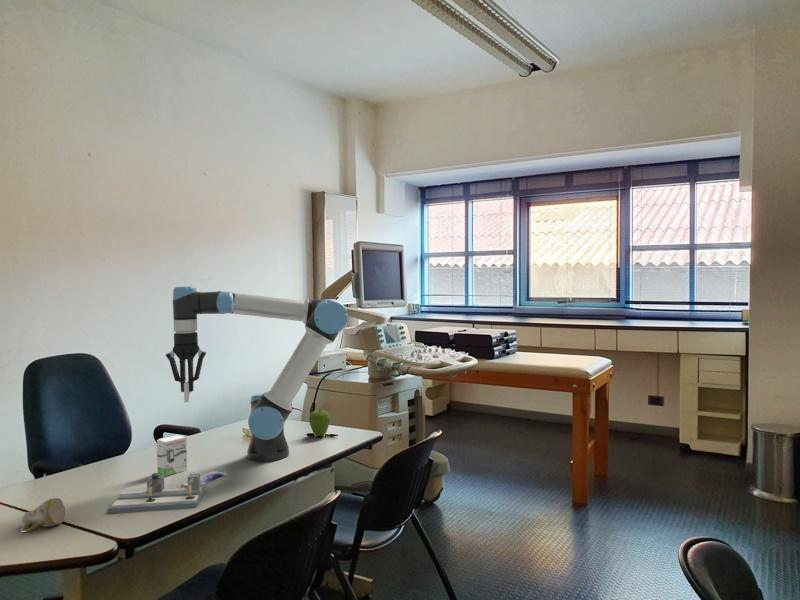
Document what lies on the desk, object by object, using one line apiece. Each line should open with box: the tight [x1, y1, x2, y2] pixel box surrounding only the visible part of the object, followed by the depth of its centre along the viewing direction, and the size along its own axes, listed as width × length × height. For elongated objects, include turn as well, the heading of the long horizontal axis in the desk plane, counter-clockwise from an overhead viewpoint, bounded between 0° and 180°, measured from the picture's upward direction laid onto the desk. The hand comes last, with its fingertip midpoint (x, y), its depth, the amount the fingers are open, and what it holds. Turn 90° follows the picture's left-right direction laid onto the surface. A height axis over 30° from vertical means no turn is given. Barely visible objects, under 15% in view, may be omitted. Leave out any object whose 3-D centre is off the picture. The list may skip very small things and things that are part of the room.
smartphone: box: [180, 470, 230, 488], centre depth 188 cm, size 7×1×15 cm
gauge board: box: [107, 473, 207, 514], centre depth 170 cm, size 24×13×6 cm, turn 98°
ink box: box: [156, 434, 188, 477], centre depth 197 cm, size 9×5×12 cm, turn 141°
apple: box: [308, 409, 331, 437], centre depth 241 cm, size 9×8×12 cm
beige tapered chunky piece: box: [19, 497, 66, 532], centre depth 154 cm, size 8×10×10 cm
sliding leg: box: [146, 472, 165, 499], centre depth 170 cm, size 4×8×5 cm, turn 8°
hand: (187, 401), depth 195 cm, fingers closed
